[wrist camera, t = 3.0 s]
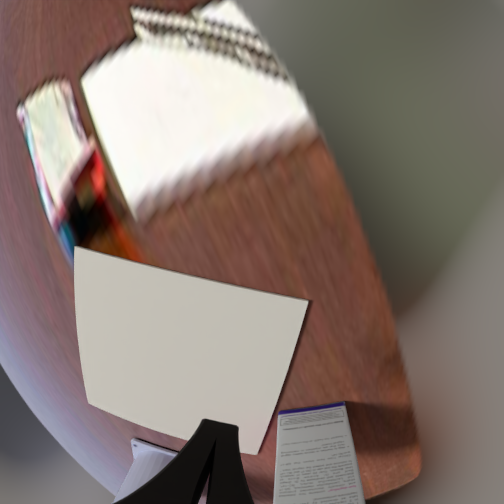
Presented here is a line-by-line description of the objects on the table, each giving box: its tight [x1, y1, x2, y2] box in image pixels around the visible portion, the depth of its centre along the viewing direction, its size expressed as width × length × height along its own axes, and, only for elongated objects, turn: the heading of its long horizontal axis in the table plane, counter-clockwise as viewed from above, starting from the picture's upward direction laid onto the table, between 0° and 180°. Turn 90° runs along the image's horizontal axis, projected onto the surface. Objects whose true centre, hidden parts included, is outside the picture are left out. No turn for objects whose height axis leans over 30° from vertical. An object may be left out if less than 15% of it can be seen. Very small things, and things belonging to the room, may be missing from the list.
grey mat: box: [74, 246, 308, 455], centre depth 21 cm, size 17×18×1 cm
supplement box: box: [273, 401, 365, 504], centre depth 16 cm, size 6×6×12 cm
